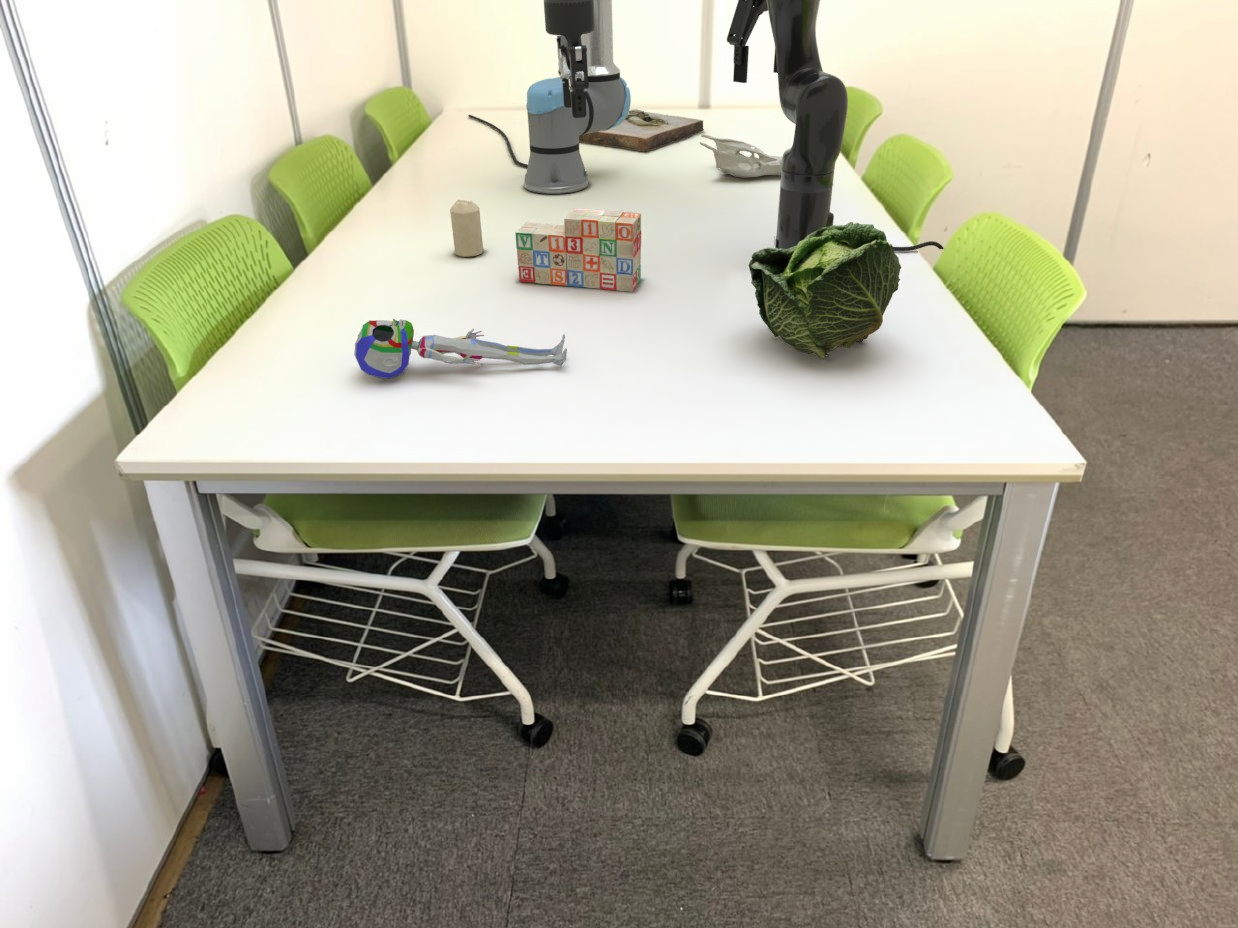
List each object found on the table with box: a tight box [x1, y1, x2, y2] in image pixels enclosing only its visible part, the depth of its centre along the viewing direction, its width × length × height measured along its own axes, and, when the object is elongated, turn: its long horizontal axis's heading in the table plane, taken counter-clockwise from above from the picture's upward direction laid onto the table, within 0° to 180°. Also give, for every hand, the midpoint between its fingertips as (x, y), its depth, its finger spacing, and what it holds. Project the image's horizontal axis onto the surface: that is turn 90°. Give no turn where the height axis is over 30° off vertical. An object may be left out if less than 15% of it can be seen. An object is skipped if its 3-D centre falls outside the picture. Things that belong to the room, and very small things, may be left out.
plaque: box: [579, 108, 705, 152], centre depth 257 cm, size 30×7×30 cm
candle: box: [449, 199, 484, 258], centre depth 172 cm, size 6×6×10 cm
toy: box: [353, 318, 568, 379], centre depth 130 cm, size 10×8×30 cm
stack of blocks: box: [514, 208, 642, 293], centre depth 158 cm, size 21×6×12 cm, turn 76°
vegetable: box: [748, 221, 902, 360], centre depth 132 cm, size 20×19×20 cm
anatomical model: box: [699, 133, 783, 178], centre depth 218 cm, size 15×9×25 cm
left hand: (760, 77), depth 179 cm, fingers open, 13 cm apart
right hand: (574, 112), depth 143 cm, fingers open, 8 cm apart
